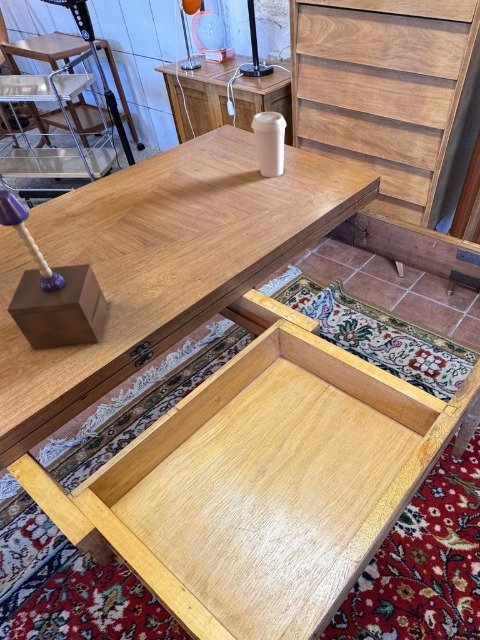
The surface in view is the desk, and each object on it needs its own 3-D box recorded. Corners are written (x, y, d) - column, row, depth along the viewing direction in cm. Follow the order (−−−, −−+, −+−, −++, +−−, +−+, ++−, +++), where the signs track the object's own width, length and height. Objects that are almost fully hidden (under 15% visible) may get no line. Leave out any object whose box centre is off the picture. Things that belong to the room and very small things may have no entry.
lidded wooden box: (35, 352, 83) (6, 309, 75) (49, 312, 91) (24, 270, 83) (100, 344, 84) (78, 302, 76) (108, 305, 92) (89, 263, 84)
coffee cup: (264, 184, 126) (260, 125, 115) (250, 171, 132) (244, 114, 120) (293, 176, 129) (292, 118, 118) (278, 164, 134) (275, 108, 123)
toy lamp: (52, 295, 78) (1, 202, 65) (31, 290, 79) (-23, 198, 66) (70, 280, 81) (24, 188, 68) (49, 275, 82) (0, 184, 69)
